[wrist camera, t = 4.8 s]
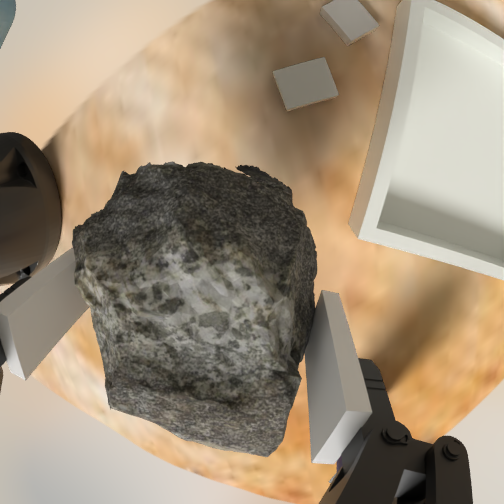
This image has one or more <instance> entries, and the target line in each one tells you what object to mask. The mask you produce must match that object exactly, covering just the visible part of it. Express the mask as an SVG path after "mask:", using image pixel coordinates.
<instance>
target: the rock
mask: <svg viewBox="0 0 504 504" xmlns="http://www.w3.org/2000/svg"><path fill="white" fill-rule="evenodd" d="M236 168H237V170H239V171H242V172H243V173H244V174H241V173H235V172H233V171H231V170H228V169H226V168H225V167H224V169H223V168H221V167H220V166H217V165H216V166H215V165H213V164H212V163H208V164H206V163H203V162H198V163H193V164H188V166H187V167H183V166H182V165H179V164H175V162H168V163H165V164H164V165H151V164H150V162H149V163H148V164H147V165H146V166H140V167H139V168H138V170H137V172H136V174H131V175H129V174H127V173H126V172H124V171H122V173H121V176H120V178H119V181H118V183H117V186H116V189H115V191H114V193H113V195H112V197H111V199H110V200H109V201H108V202H107V204H106V205H105V207H104V209H103V210H100V211H99V212H96V213H94V214H91V217H90V218H88V219H86V221H85V222H84V224H83V225H78V226H77V227H76V226H75V229H74V230H73V240H72V245H73V249H74V255H75V261H76V268H75V272H74V281H75V286H76V287H77V289H78V291H79V293H80V294H81V296H82V298H83V300H84V301H85V303H86V304H88V305H89V306H90V308H91V316H92V322H93V328H94V330H95V332H96V336H97V341H98V344H99V346H100V352H101V356H102V360H103V366H104V371H105V377H106V379H105V388H106V392H107V397H108V403H109V405H110V408H112V409H115V410H118V411H121V412H124V413H127V414H129V415H133V416H136V417H140V418H143V419H145V420H148V421H150V422H153V423H156V424H157V425H159V426H161V427H162V428H164V429H166V430H168V431H170V432H171V433H173V434H174V435H176V436H177V437H179V438H181V439H184V440H186V441H193V442H197V443H200V444H203V445H206V446H209V447H212V448H215V449H220V450H225V451H234V452H243V453H249V454H253V455H258V456H263V457H268V456H269V455H270V454H271V453H272V452H274V451H275V450H276V449H277V447H278V446H279V445H280V443H281V442H282V441H283V438H284V434H285V430H286V425H287V419H288V416H289V412H290V410H291V408H292V406H293V403H294V400H295V396H296V394H297V391H298V388H299V385H300V382H301V379H302V378H301V376H300V374H299V371H298V366H299V362H301V361H302V360H303V356H304V353H305V350H306V347H307V345H308V342H309V337H310V333H311V329H312V326H313V318H314V313H315V301H314V295H315V294H314V293H313V290H314V279H315V277H316V274H317V260H316V258H317V252H316V251H315V248H316V246H315V244H314V240H313V237H312V235H311V231H310V229H309V227H307V221H306V218H305V214H304V212H303V211H301V210H299V209H297V208H295V207H294V206H293V203H292V190H291V189H290V188H289V186H288V187H286V185H285V184H284V185H283V182H280V181H278V179H276V178H271V177H270V176H269V174H267V173H266V172H263V171H260V169H259V168H258V167H254V166H250V167H249V166H247V165H244V166H242V165H240V166H238V167H236ZM245 174H246V175H249V176H251V177H248V176H246V175H245ZM110 410H111V409H110Z"/></svg>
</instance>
